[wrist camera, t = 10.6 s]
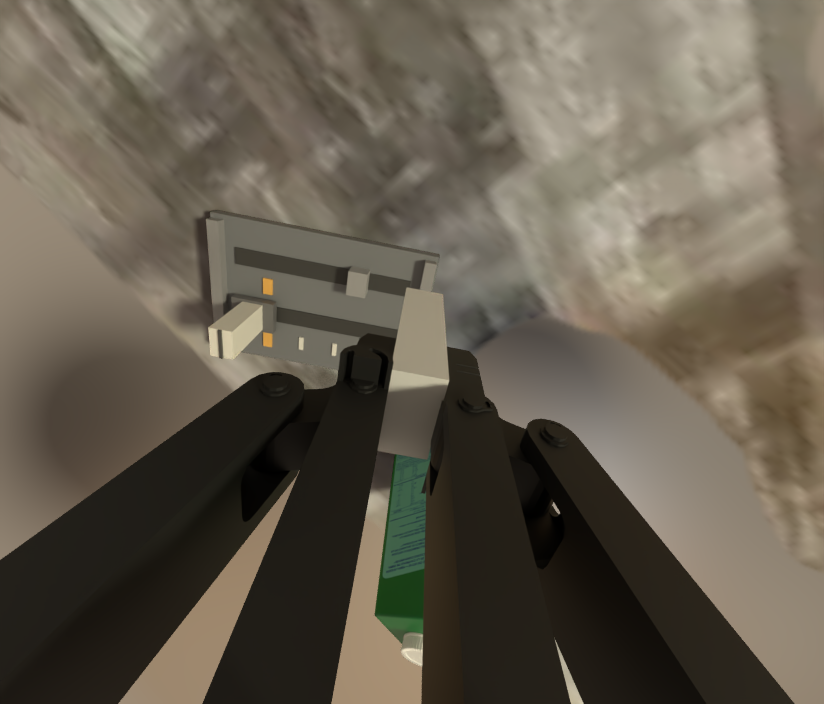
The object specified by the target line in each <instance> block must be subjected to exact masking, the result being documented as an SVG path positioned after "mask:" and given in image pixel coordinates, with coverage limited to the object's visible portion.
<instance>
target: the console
mask: <svg viewBox="0 0 824 704" xmlns="http://www.w3.org/2000/svg"><path fill="white" fill-rule="evenodd" d="M206 227H207V240H208V254H209V268H210V281H211V295H212V309H213V322H214V323H215V322H216V321H217V320H219V319H220V318H221V317H223V316H224V315H225V314H227V313H228V312H229V311H231V310H232V302H231V297H232V296H233V295H235V294H239V295H244V296H250V297H255V298H260V299H265V300H271V301H276V302H277V318H276V331H275V332H274V334H270V333H265V332H260V333H259V334H258V335H257V336H256V337H255V338H254V339H253V340H252V341H251V342H250V343H249V344H248V345H247V346H246V347H245V348H244V349H243V350H242V351H241V352H243V353H249V354H254V355H260V356H265V357H270V358H276V359H281V360H287V361H292V362H298V363H303V364H309V365H314V366H319V367H325V368H330V369H336V370H339V360H340V353H341V351H342V350H343V349H344V348H347V347H349V346H352V345H357V343H358V341H359V338H361V337H363V336H364V335H366V334H367V333H371V334H376V335H381V336H386V337H392V338H397V334H398V329H399V324H400V318H401V313H402V308H403V303H404V298H405V293H406V288H407V287H408V288H413V289H418V290H423V291H428V292H432V290H433V285H434V281H435V276H436V272H437V267H438V263H439V258H440V256H439V254H435V253H430V252H425V251H420V250H415V249H410V248H405V247H400V246H395V245H390V244H385V243H380V242H375V241H370V240H365V239H360V238H355V237H350V236H345V235H340V234H335V233H330V232H325V231H320V230H315V229H310V228H305V227H300V226H295V225H290V224H285V223H280V222H275V221H270V220H265V219H260V218H255V217H250V216H245V215H240V214H235V213H230V212H225V211H220V210H215V211H211V212H210V218H208V219H206Z"/></svg>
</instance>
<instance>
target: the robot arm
mask: <svg viewBox="0 0 824 704" xmlns="http://www.w3.org/2000/svg"><path fill="white" fill-rule="evenodd" d="M478 368H479V367H478V363H477V359H476V358H475V357H474V356H473V355H472V354H471V352H470V351H466V350H461V349H456V348H450V347H447V344H446V331H445V317H444V304H443V294H438V293H433V292H428V291H423V290H418V289H413V288H408V287H407V288H406V293H405V298H404V303H403V308H402V313H401V318H400V324H399V329H398V334H397V338H392V337H386V336H381V335H376V334H371V333H367V334H366V335H364V336H363V337H361V338H359V341H358V343H357V345H352V346H349V347H347V348H344V349H343V350H342V351H341V353H340V360H339V370H338V379H337V383H336V385H334V386H332V387H329V388H325V389H307V390H304V384H303V383H302V381H301V380H300V379H299V378H297V377H295V376H293V375H291V374H286V373H281V372H270V373H265V374H261V375H258V376H256V377H254V378H252V379H250V380H249V381H248V382H246V383H245V384H243V385H242V386H241V387H239V388H238V389H237V390H235V391H234V392H232V393H231V394H230V395H228V396H227V397H225V398H224V399H223V400H221V401H220V402H219V403H217V404H216V405H214V406H213V407H212V408H210V409H209V410H207V411H206V412H205V413H203V414H202V415H201V416H199V417H198V418H196V419H195V420H194V421H193V422H191V423H189V424H188V425H187V426H185V427H184V428H183V429H181V430H180V431H178V432H177V433H176V434H174V435H173V436H171V437H170V438H169V439H167V440H166V441H165V442H163V443H162V444H160V445H159V446H158V447H157V448H155V449H153V450H152V451H151V452H149V453H148V454H147V455H145V456H144V457H143V458H141V459H140V460H138V461H137V462H135V463H134V464H133V465H131V466H130V467H129V468H127V469H126V470H124V471H123V472H122V473H120V474H119V475H117V476H116V477H115V478H113V479H112V480H111V481H109V482H108V483H106V484H105V485H104V486H102V487H101V488H100V489H98V490H97V491H95V492H94V493H92V494H91V495H90V496H88V497H87V498H86V499H84V500H83V501H81V502H80V503H79V504H77V505H76V506H74V507H73V508H72V509H70V510H69V511H68V512H66V513H65V514H63V515H62V516H61V517H59V518H58V519H57V520H55V521H54V522H52V523H51V524H50V525H48V526H47V527H46V528H44V529H43V530H41V531H40V532H38V533H37V534H36V535H34V536H33V537H32V538H30V539H29V540H27V541H26V542H25V543H23V544H22V545H21V546H19V547H18V548H17V549H15V550H14V551H12V552H11V553H9V554H8V555H7V556H5V557H4V558H3V559H1V560H0V704H118V703H119V702H120V700H121V699H122V698H123V697H124V695H125V694H126V693H127V692H128V690H129V689H130V688H131V686H132V685H133V684H134V683H135V681H136V680H137V679H138V678H139V676H140V675H141V674H142V672H143V671H144V670H145V669H146V667H147V666H148V665H149V663H150V662H151V661H152V660H153V658H154V657H155V656H156V654H157V653H158V652H159V651H160V649H161V648H162V647H163V646H164V644H165V643H166V642H167V641H168V639H169V638H170V637H171V635H172V634H173V633H174V632H175V630H176V629H177V628H178V626H179V625H180V624H181V623H182V621H183V620H184V619H185V618H186V616H187V615H188V614H189V612H190V611H191V610H192V608H193V607H194V606H195V605H196V604H197V602H198V601H199V600H200V598H201V597H202V596H203V595H204V593H205V592H206V591H207V589H208V588H209V587H210V586H211V584H212V583H213V582H214V581H215V579H216V578H217V577H218V575H219V574H220V573H221V572H222V570H223V569H224V568H225V567H226V565H227V564H228V563H229V561H230V560H231V559H232V557H233V556H234V555H235V554H236V552H237V551H238V550H239V549H240V547H241V546H242V545H243V544H244V542H245V541H246V540H247V538H248V537H249V536H250V535H251V533H252V532H253V531H254V530H255V528H256V527H257V526H258V524H259V523H260V522H261V520H262V519H263V518H264V517H265V515H266V514H267V513H268V512H269V510H270V509H271V507H273V505H274V504H275V503H276V501H277V500H278V499H279V498H280V496H281V495H282V494H283V493H284V491H285V490H286V489H287V487H288V486H289V485H290V484H291V482H292V481H293V480H294V478H295V477H296V476H297V474H298V471H299V470H300V471H299V474H298V476H297V478H296V481H295V483H294V486H293V488H292V491H291V493H290V496H289V498H288V500H287V503H286V505H285V507H284V510H283V512H282V514H281V517H280V520H279V522H278V524H277V526H276V529H275V531H274V534H273V536H272V538H271V541H270V543H269V545H268V548H267V551H266V553H265V555H264V557H263V560H262V562H261V565H260V567H259V570H258V572H257V574H256V577H255V579H254V581H253V584H252V586H251V589H250V591H249V593H248V596H247V598H246V601H245V603H244V605H243V608H242V610H241V613H240V615H239V617H238V620H237V622H236V625H235V627H234V629H233V632H232V634H231V636H230V639H229V642H228V644H227V646H226V648H225V651H224V653H223V656H222V658H221V660H220V663H219V665H218V668H217V670H216V672H215V675H214V677H213V680H212V682H211V684H210V687H209V689H208V692H207V694H206V696H205V699H204V701H203V704H331V702H332V696H333V691H334V685H335V680H336V674H337V669H338V663H339V658H340V652H341V647H342V641H343V636H344V631H345V625H346V619H347V614H348V608H349V603H350V598H351V592H352V587H353V581H354V576H355V570H356V565H357V559H358V554H359V548H360V543H361V537H362V532H363V526H364V521H365V516H366V510H367V505H368V499H369V494H370V488H371V483H372V477H373V472H374V466H375V461H376V455H377V451H381V452H386V453H392V454H398V455H403V456H409V457H415V458H420V459H426V460H427V459H428V455H429V452H430V448H431V459H430V463H429V466H428V470H427V474H426V477H425V481H424V484H423V488H422V491H421V493H424V494H425V492H426V520H425V566H424V611H423V657H422V704H571V702H570V698H569V694H568V690H567V686H566V682H565V678H564V674H563V670H562V666H561V662H560V658H559V654H558V651H557V647H556V643H555V640H556V642H557V644H558V647H559V649H560V651H561V653H562V656H563V658H564V660H565V662H566V665H567V667H568V669H569V671H570V674H571V676H572V678H573V680H574V683H575V685H576V687H577V689H578V692H579V694H580V696H581V698H582V701H583V703H584V704H794V703H793V701H792V700H791V699H790V698H789V696H788V695H787V694H786V693H785V692H784V690H783V689H782V688H781V687H780V685H779V684H778V683H777V682H776V680H775V679H774V678H773V677H772V676H771V674H770V673H769V672H768V671H767V669H766V668H765V667H764V666H763V664H762V663H761V662H760V661H759V660H758V658H757V657H756V656H755V655H754V654H753V652H752V651H751V650H750V648H749V647H748V646H747V645H746V644H745V642H744V641H743V640H742V639H741V637H740V636H739V635H738V634H737V633H736V631H735V630H734V629H733V628H732V627H731V625H730V624H729V623H728V621H727V620H726V619H725V618H724V616H723V615H722V614H721V613H720V612H719V610H718V609H717V608H716V607H715V605H714V604H713V603H712V602H711V600H710V599H709V598H708V597H707V596H706V595H705V593H704V592H703V591H702V589H701V588H700V587H699V586H698V585H697V583H696V582H695V581H694V580H693V579H692V577H691V576H690V575H689V573H688V572H687V571H686V570H685V569H684V568H683V566H682V565H681V564H680V562H679V561H678V560H677V559H676V558H675V556H674V555H673V554H672V553H671V551H670V550H669V549H668V548H667V547H666V545H665V544H664V543H663V542H662V540H661V539H660V538H659V537H658V535H657V534H656V533H655V532H654V531H653V529H652V528H651V527H650V526H649V524H648V523H647V522H646V521H645V519H644V518H643V517H642V516H641V514H640V513H639V512H638V511H637V510H636V509H635V507H634V506H633V505H632V503H631V502H630V501H629V500H628V499H627V497H626V496H625V495H624V494H623V492H622V491H621V490H620V489H619V487H618V486H617V485H616V484H615V483H614V481H613V480H612V479H611V478H610V477H609V475H608V474H607V473H606V471H605V470H604V469H603V468H602V467H601V465H600V464H599V463H598V462H597V460H596V459H595V458H594V457H593V456H592V454H591V453H590V452H589V451H588V449H587V448H586V447H585V446H584V444H583V443H582V442H581V441H580V440H579V438H578V437H577V436H576V435H575V434H574V433H573V432H572V431H571V430H569V429H568V428H566V427H565V426H563V425H562V424H560V423H557V422H554V421H551V420H546V419H535V420H532V421H531V422H529V423H528V425H527V428H526V429H524V428H521V427H519V426H516V425H514V424H511V423H509V422H506V421H505V420H503V419H501V418H500V417H499V416H498V412H497V409H496V407H495V405H494V403H493V402H491V401H490V400H489V399H488V398H487V397H485V395H484V390H483V386H482V381H481V377H480V372H479V369H478ZM553 502H554V503H555V504H556V506H557V508H558V509H559V511H560V514H558V513H557V512H556V511H555V509H554V507H553V506H552V504H553ZM554 638H555V639H554Z"/></svg>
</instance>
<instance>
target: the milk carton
mask: <svg viewBox="0 0 824 704" xmlns="http://www.w3.org/2000/svg"><path fill="white" fill-rule="evenodd" d="M430 459H431V448H430V452H429V455H428V459H427V460H426V459H420V458H415V457H409V456H403V455H398V454H395V457H394V465H393V473H392V481H391V489H390V497H389V505H388V513H387V521H386V529H385V536H384V544H383V552H382V561H381V568H380V576H379V585H378V592H377V600H376V609H375V616H376V617H377V618H378V619H379V620H380V621H381V622H382V624H383V625H384V626H385V627H386V628H387V629H388V630H389V631H390V632H391V633H392V634H393V635H394V636H395V637H396V638H397V639H398V640H399V641H400V642H401V643H402V648H401V654H402V655H403V657H405V658H406V659H407V660H409V661H410V662H412V663H415V664H417V665H419V666H422V657H423V611H424V566H425V520H426V492H425V494H424V493H421V491H422V488H423V484H424V481H425V477H426V474H427V470H428V466H429V463H430Z"/></svg>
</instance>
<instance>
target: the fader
mask: <svg viewBox="0 0 824 704" xmlns="http://www.w3.org/2000/svg"><path fill="white" fill-rule="evenodd" d="M231 302H232V310H231V311H229V312H228V313H227V314H225V315H224V316H223V317H221V318H220V319H219V320H217V321H216V322H215V323H214V324H212V325H211V326H210V327H208V330H209V342H210V354H211V355H212V356H217V357H219V358H221V359H223V358H228V359H234V358H235V357H236V356H237V355H238V354H239V353H240V352H241V351H242V350H243V349H244V348H245V347H246V346H247V345H248V344H249V343H250V342H251V341H252V340H253V339H254V338H255V337H256V336H257V335H258V334H259V333H260V332H265V333H270V334H274V332H275V331H276V318H277V302H276V301H271V300H265V299H260V298H255V297H250V296H244V295H239V294H235V295H233V296H232V297H231Z"/></svg>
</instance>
